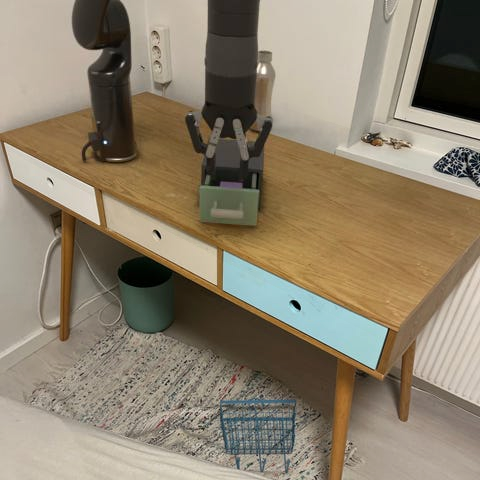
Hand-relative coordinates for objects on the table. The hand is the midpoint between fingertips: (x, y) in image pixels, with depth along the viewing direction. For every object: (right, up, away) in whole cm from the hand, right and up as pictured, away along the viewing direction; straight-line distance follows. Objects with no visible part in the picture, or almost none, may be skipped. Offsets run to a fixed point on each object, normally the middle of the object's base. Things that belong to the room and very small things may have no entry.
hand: (226, 177), depth 84 cm
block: (0, -1, +20) cm, 20 cm away
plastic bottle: (+8, +30, +59) cm, 67 cm away
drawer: (0, -2, +20) cm, 20 cm away
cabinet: (+1, +5, +29) cm, 30 cm away
